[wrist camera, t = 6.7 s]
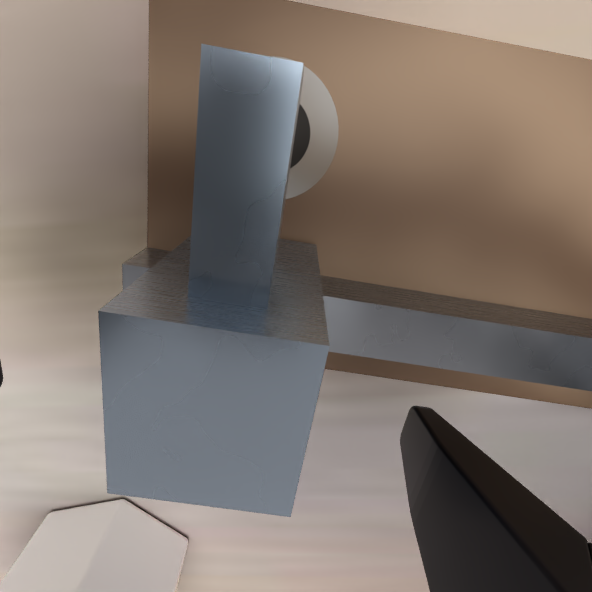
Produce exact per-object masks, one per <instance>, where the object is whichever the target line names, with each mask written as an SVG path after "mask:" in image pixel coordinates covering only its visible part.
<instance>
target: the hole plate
mask: <svg viewBox="0 0 592 592" xmlns="http://www.w3.org/2000/svg"><path fill="white" fill-rule="evenodd" d="M201 44H206V45H211V46H217V47H222V48H227V49H233V50H238V51H243V52H249V53H254V54H259V55H265V56H270V57H275V58H281V59H286V60H291V61H297V62H302V63H304V73H303V84H302V91H301V98H300V105H299V111H298V118H297V125H296V131H295V138H294V145H293V152H292V158H291V165H290V172H289V178H288V185H287V192H286V199H285V205H284V212H283V219H282V225H281V232H280V239H286V240H292V241H298V242H304V243H310V244H316V246H317V253H318V261H319V269H320V275H322V276H328V277H335V278H341V279H347V280H353V281H359V282H366V283H372V284H378V285H384V286H390V287H397V288H403V289H409V290H415V291H421V292H428V293H434V294H440V295H446V296H452V297H459V298H465V299H471V300H477V301H483V302H490V303H496V304H502V305H508V306H514V307H521V308H527V309H533V310H539V311H545V312H552V313H558V314H564V315H570V316H576V317H583V318H589V319H592V60H590V59H585V58H580V57H574V56H569V55H564V54H559V53H554V52H549V51H544V50H539V49H533V48H528V47H523V46H518V45H513V44H508V43H503V42H498V41H492V40H487V39H482V38H477V37H472V36H467V35H462V34H457V33H451V32H446V31H441V30H436V29H431V28H426V27H421V26H416V25H410V24H405V23H400V22H395V21H390V20H385V19H380V18H375V17H369V16H364V15H359V14H354V13H349V12H344V11H339V10H334V9H328V8H323V7H318V6H313V5H308V4H303V3H298V2H293V1H287V0H149V85H148V233H147V247H149V248H155V249H161V250H167V251H172V250H174V249H175V248H176V247H177V246H179V245H180V244H181V243H182V242H183V241H185V240H186V239H187V238H188V237H190V236H191V228H192V210H193V191H194V172H195V154H196V135H197V116H198V98H199V79H200V60H201ZM324 369H331V370H338V371H344V372H351V373H358V374H364V375H371V376H378V377H384V378H391V379H398V380H404V381H411V382H418V383H424V384H431V385H438V386H444V387H451V388H458V389H465V390H471V391H478V392H485V393H491V394H498V395H505V396H511V397H518V398H525V399H531V400H538V401H545V402H551V403H558V404H565V405H571V406H578V407H585V408H592V391H586V390H579V389H573V388H566V387H559V386H553V385H546V384H540V383H533V382H526V381H520V380H513V379H507V378H500V377H494V376H487V375H480V374H474V373H467V372H461V371H454V370H447V369H441V368H434V367H428V366H421V365H414V364H408V363H401V362H395V361H388V360H382V359H375V358H368V357H362V356H355V355H349V354H342V353H335V352H329V351H328V355H327V359H326V364H325V368H324Z"/></svg>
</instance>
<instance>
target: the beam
mask: <svg viewBox="0 0 592 592" xmlns="http://www.w3.org/2000/svg"><path fill="white" fill-rule="evenodd" d="M170 252H171V251H167V250H161V249H155V248H149V247H147V248H146V249H144V250H143V251H141V252H140V253H138V254H137V255H135V256H134V257H132V258H131V259H129V260H128V261H126V262H125V263H123V264H122V271H123V290H125V289H126V288H127V287H128V286H129V285H131V284H132V283H133V282H134V281H136V280H137V279H138V278H139V277H141V276H142V275H143V274H144V273H145V272H147V271H148V270H149V269H150V268H152V267H153V266H154V265H155V264H156V263H158V262H159V261H160V260H161V259H163V258H164V257H165V256H166V255H167V254H169V253H170ZM320 277H321V284H322V292H323V300H324V307H325V315H326V323H327V330H328V338H329V352H335V353H342V354H349V355H355V356H362V357H368V358H375V359H382V360H388V361H395V362H401V363H408V364H414V365H421V366H428V367H434V368H441V369H447V370H454V371H461V372H467V373H474V374H480V375H487V376H494V377H500V378H507V379H513V380H520V381H526V382H533V383H540V384H546V385H553V386H559V387H566V388H573V389H579V390H586V391H592V319H589V318H583V317H576V316H570V315H564V314H558V313H552V312H545V311H539V310H533V309H527V308H521V307H514V306H508V305H502V304H496V303H490V302H483V301H477V300H471V299H465V298H459V297H452V296H446V295H440V294H434V293H428V292H421V291H415V290H409V289H403V288H397V287H390V286H384V285H378V284H372V283H366V282H359V281H353V280H347V279H341V278H335V277H328V276H322V275H320Z"/></svg>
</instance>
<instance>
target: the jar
mask: <svg viewBox="0 0 592 592" xmlns="http://www.w3.org/2000/svg"><path fill="white" fill-rule="evenodd" d="M187 547H188V539H187V538H186V537H184V536H183V535H181V534H180V533H178V532H176V531H175V530H173V529H171V528H170V527H168V526H167V525H165V524H163V523H162V522H160V521H159V520H157V519H155V518H154V517H152V516H151V515H149V514H147V513H146V512H144V511H143V510H141V509H139V508H138V507H136V506H135V505H133V504H131V503H130V502H128V501H127V500H125V499H119V500H114V501H108V502H103V503H97V504H92V505H86V506H81V507H75V508H70V509H64V510H59V511H53V512H50V513H49V514H48V515H47V516H46V517H45V519H44V520H43V522H42V523H41V525H40V526H39V528H38V529H37V530H36V532H35V533H34V535H33V536H32V538H31V539H30V541H29V542H28V544H27V545H26V546H25V548H24V549H23V551H22V552H21V554H20V555H19V557H18V558H17V559H16V561H15V562H14V564H13V565H12V567H11V568H10V570H9V571H8V573H7V574H6V575H5V577H4V578H3V580H2V581H1V583H0V592H177V588H178V584H179V580H180V576H181V571H182V567H183V563H184V559H185V555H186V551H187Z"/></svg>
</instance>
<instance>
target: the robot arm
mask: <svg viewBox="0 0 592 592" xmlns="http://www.w3.org/2000/svg"><path fill="white" fill-rule="evenodd" d="M2 382H3V373H2V367H1V361H0V387H1V385H2ZM400 446H401V453H402V459H403V466H404V473H405V480H406V487H407V494H408V501H409V507H410V513H411V517H412V522H413V526H414V530H415V534H416V538H417V542H418V546H419V550H420V553H421V557H422V561H423V565H424V569H425V573H426V577H427V581H428V585H429V589H430V592H592V543H587V540H586V538H585V537H584V536H582V535H581V534H580V533H579V532H578V531H576V530H575V529H574V528H573V527H572V526H570V525H569V524H568V523H567V522H566V521H565V520H563V519H562V518H561V517H560V516H559V515H557V514H556V513H555V512H554V511H553V510H551V509H550V508H549V507H548V506H547V505H546V504H544V503H543V502H542V501H541V500H540V499H538V498H537V497H536V496H535V495H534V494H532V493H531V492H530V491H529V490H528V489H527V488H525V487H524V486H523V485H522V484H521V483H519V482H518V481H517V480H516V479H515V478H513V477H512V476H511V475H510V474H509V473H507V472H506V471H505V470H504V469H503V468H502V467H500V466H499V465H498V464H497V463H496V462H494V461H493V460H492V459H491V458H490V457H488V456H487V455H486V454H485V453H484V452H483V451H481V450H480V449H479V448H478V447H477V446H475V445H474V444H473V443H472V442H471V441H469V440H468V439H467V438H466V437H465V436H464V435H462V434H461V433H460V432H459V431H458V430H456V429H455V428H454V427H453V426H452V425H450V424H449V423H448V422H447V421H446V420H445V419H443V418H442V417H441V416H440V415H439V414H437V413H436V412H435V411H434V410H433V409H431V408H427V407H420V406H413V407H411V409H410V410H409V413H408V416H407V418H406V421H405V424H404V427H403V430H402V433H401V437H400Z"/></svg>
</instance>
